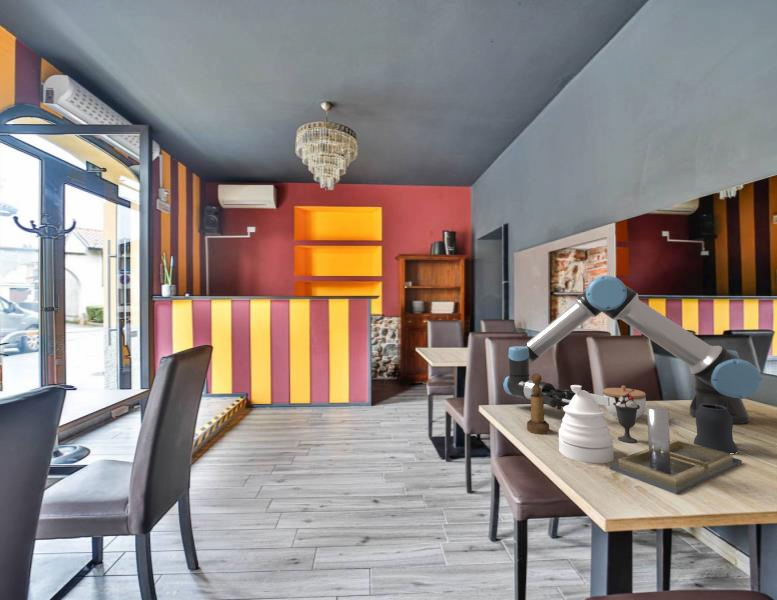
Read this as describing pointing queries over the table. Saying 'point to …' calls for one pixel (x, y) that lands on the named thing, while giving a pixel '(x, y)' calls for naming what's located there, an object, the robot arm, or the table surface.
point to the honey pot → (585, 430)
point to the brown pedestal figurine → (537, 409)
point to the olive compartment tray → (672, 458)
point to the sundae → (626, 415)
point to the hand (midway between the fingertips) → (595, 404)
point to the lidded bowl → (618, 392)
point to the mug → (714, 428)
